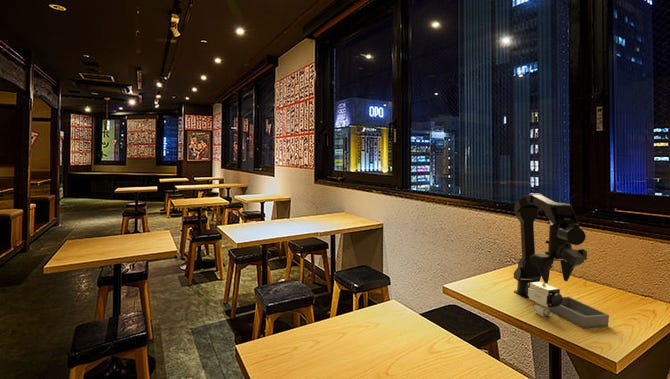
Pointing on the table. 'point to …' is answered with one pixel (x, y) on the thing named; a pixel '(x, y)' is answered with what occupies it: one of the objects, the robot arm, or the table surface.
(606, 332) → the table surface
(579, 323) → the bin
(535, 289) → the pneumatic valve
